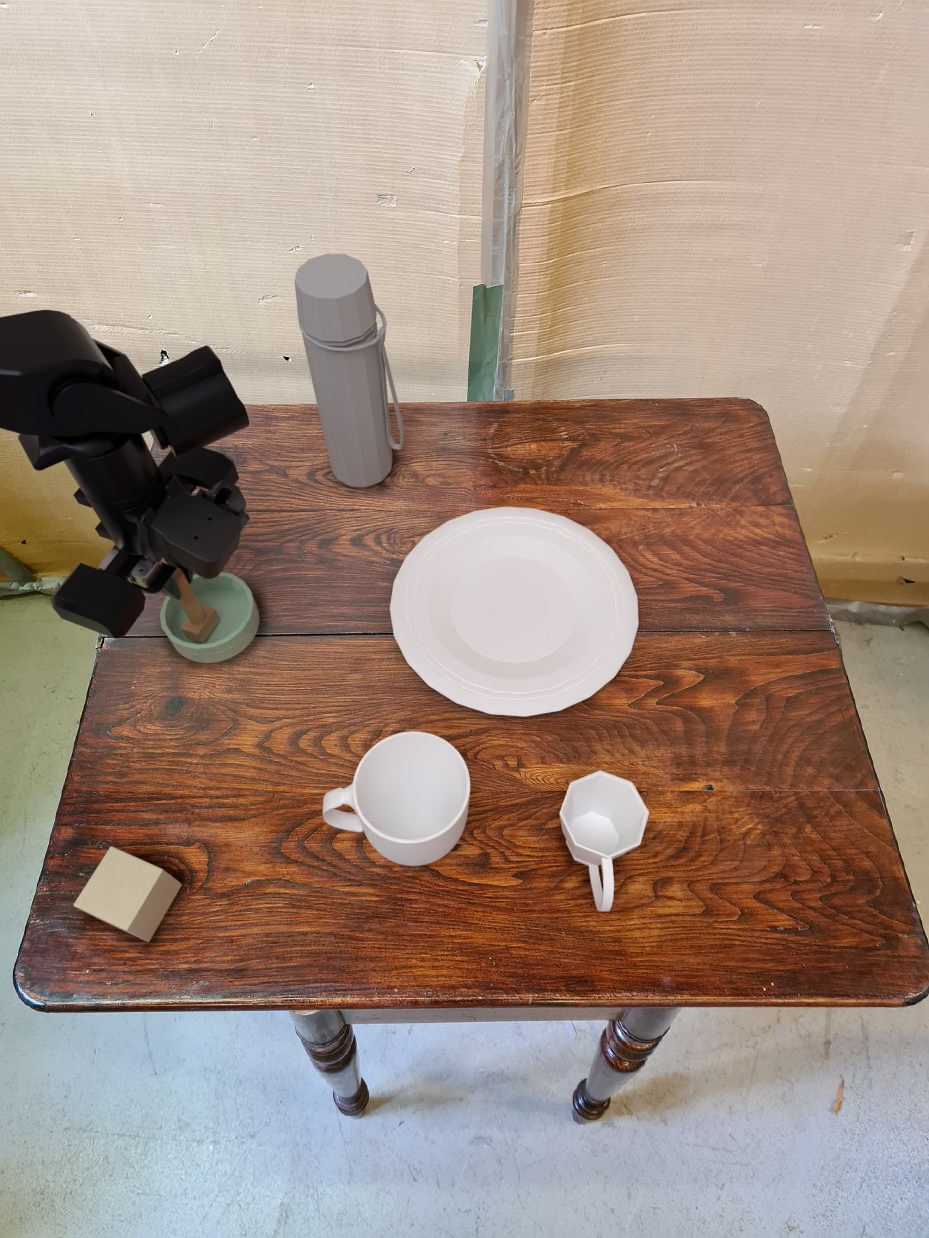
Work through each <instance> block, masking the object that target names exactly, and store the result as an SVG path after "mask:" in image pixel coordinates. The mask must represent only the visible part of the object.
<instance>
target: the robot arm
mask: <svg viewBox="0 0 929 1238" xmlns="http://www.w3.org/2000/svg"><path fill="white" fill-rule="evenodd" d="M249 426H250V418H249V414H248V410H247V409H246V406H245V404H244V403H243V402H242V401H241V399H240V397H239V396H238V395H237V392H236V389H235V388H234V386H233V384H232V382H231V380H230V378H229V377H228V375H227V374H226V371H225V370H224V367H223V363H222V360H221V359H220V358H219V356H218V355H217V354H216V353H215V351H214V350H213V348H211V347H210V345H207V344H206V345H203V346H201V347H199V348H197V349H193V350H192V351H190V352H189V353H187V354H185V355H184V356H183V357H181V358H178V359H176V360H174V361H171V362H168V363H166V364H164V365H161V366H159V367H157V368H154V369H152V370H149V371H147V372H144V373H142V374H141V373H139V371H138V370H137V368H136V367H135V365H134V364H133V363H132V361H131V360H130V358H129V357H128V355H127V354H126V353H124V352H122V351H120V350H117V349H115V348H114V347H112V346H111V345H110V346H109V345H107V344H106V343H103V342H102V341H99V340H97V339H95V338H93V337H92V336H91V334H90V333H89V331H88V330H87V328H86V327H85V326H84V325H83V324H81V323H80V322H79V321H78V320H77V319H75V318H73V317H72V316H71V315H70V314H69V313H66V312H63V311H60V310H55V309H38V310H33V311H26V312H21V313H15V314H9V315H5V316H0V429H2V430H5V431H8V432H11V433H15V434H18V436H17V440H18V442H19V444H20V446H21V447H22V449H23V451H24V454H25V455H26V457H27V459H28V461H29V463H30V464H31V466H32V468H33V469H34V470H35V471H38V472H40V471H44V470H47V469H48V468H50V467H51V468H52V467H53V466H55V465H58V464H60V463H62V462H63V463H64V465H65V466H66V468H67V470H68V471H69V473H70V474H71V476H72V479H74V481H75V483H76V484H77V486H78V489H77V490H76V491H75V492H74V493H73V494H72V496H73V497H74V499H75V500H76V502H77V504H79V505H82V506H85V507H87V508H90V509H92V510H93V511H94V512H95V515H96V516H97V518H98V519H99V523H98V524H97V525H96V526H95V528H94V530H95V532H96V533H97V534H98V536H99V537H100V538H103V539H106V540H109V541H112V542H113V543H114V545H113V546H112V547H111V549H110V550H109V551H108V553H107V554H106V555H105V557H103V559H102V560H101V561H100V563H99V565H98V566H99V568H96V567H94V566H91V565H87V564H85V563H82V562H80V563H79V564H77V565H76V566H75V567H74V568H73V569H72V571H71V572H70V573H69V574H68V575H67V577H65V579H64V581H63V582H62V583H61V584H60V585H59V587H58V588H57V589H56V590H55V591H54V593H53V594H52V595H51V597H50V598H49V601H50V603H51V607H52V609H53V610H54V611H55V612H56V614H57V615H58V616H59V618H61V620H63V621H64V620H65V621H67V622H70V623H72V624H75V625H77V626H80V627H83V628H85V629H88V630H90V631H93V632H96V633H99V634H101V635H104V636H106V637H109V638H112V639H114V640H116V639H119V638H122V637H126V635H127V634H128V633H129V631H130V630H131V628H132V627H133V625H134V624H135V623H136V621H137V620H138V619H139V617H140V616H141V615H142V613H143V612H144V610H145V605H146V599H147V597H146V595H145V594H148V595H157V594H159V593H162V594H164V595H166V597H167V596H169V597H171V598H174V599H177V600H180V598H181V594H180V591H179V588H178V586H177V585H176V583H175V581H174V579H173V578H172V575H173V574H174V572H175V571H176V569H177V568H176V567H178V568H180V569H182V571H183V573H184V575H185V577H186V579H187V580H188V582H189V584H191V582H192V581H193V575H194V574H197V575H199V576H201V577H203V578H205V579H213V578H215V577H217V576H218V575H219V574H220V573H221V572H223V570H224V568H225V566H226V564H227V563H228V562H229V560H230V559H231V558H232V556H233V555H234V553H235V552H236V551H237V550H238V548H239V546H240V540H241V533H242V531H243V530H244V528H245V526H246V525H247V524H248V523H249V521H250V520H251V517H250V515H249V514H248V513H247V512H246V507H247V501H246V499H245V497H244V495H243V493H242V491H241V488H240V487H239V486H238V485H236V484H237V482H238V481H239V480H240V475H239V473H238V470H237V467H236V465H235V462H234V459H233V458H232V457H231V456H230V455H228V454H227V453H226V452H223V451H220V450H217V449H214V448H211V447H208V446H209V445H211V444H213V443H215V442H217V441H219V440H222V439H224V438H225V437H228V436H231V435H233V434H236V433H238V432H239V431H242V430H243V429H245V428H246V429H247V428H248V427H249ZM148 432H149V433H150V435H151V437H152V438H153V440H154V442H155V443H156V445H157V446H158V448H159V449H160V450H161V451H164V450H166V449H168V448H170V449H169V450H168V451H167V452H166V454H165V455H164V456H163V458H162V459H161V460H160V461H159V463H158V464H157V462H156V460H155V458H154V457H153V454H152V452H151V450H150V448H149V446H148V444H147V442H146V440H145V438H144V436H143V434H145V433H148ZM198 487H199V490H198V491H197V492H196V494H193V493H194V492H195V490H196V489H197V488H198ZM206 490H207V491H206ZM162 559H163V560H164V562H162Z"/></svg>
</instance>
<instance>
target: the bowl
mask: <svg viewBox="0 0 929 1238" xmlns="http://www.w3.org/2000/svg"><path fill="white" fill-rule="evenodd" d="M190 586H191V588H192V590H193V592H194V594H195V595H196V597H197V599H198V601H199V603H201V604H203V605H206V606H209V607H212V608H214V609H215V610H216V612H217V614H218V616H219V618H220V620H219V622H218V623H217V625H216V626H215V628H214V629H213V631H212V632H211V634H210V635H209V637H208V638H207V640H206V641H205V643H204V644H202V643H199V642H196V641H194V640H191V639H188V638H186V636H185V634H184V633H183V631H182V629H181V626H182V625H183V624H184V622H185V621H186V619H187V618H188V617H187V615H186V614H185V612H184V610H183V608H182V607H181V605H180V603H179V601H178V600H177V599H174V598H171V597H169V596H167V595H166V596H165V598H164V599H163V602H162V605H161V607H160V608H161V609H160V611H159V619H160V625H161V629H162V630H163V632H164V633H165V635H166V637H167V638H168V640H169V641H170V643H171V644H172V646H173V647H174V649H175V650H176V651H177V653H179V654H180V655H181V656H183V658H185V659H187V660H190V661H193V662H196V663H202V664H213V663H214V664H215V663H219V662H223V661H226V660H229V659H231V658H233V657H235V656H237V655H238V654H240V653H241V652H243V651H244V650H245V649H246V648H247V647H248V646H249V645H250V644H251V643H252V641H253V640H254V639H255V638H256V637H255V636H256V635H257V633H258V630H259V627H260V611H259V608H258V605H257V601H256V600H255V596H254V595H253V592H252V590H251V588H250V587H249V586H248V585H247V583H246V582H245V580H243V579H242V578H241V577H238V576H237V575H235V574H233V573H231V572H225V571H221V573H220V574H219V575H218V576H217V577H215V578H213V579H205V578H203V577H201V576H199V575H197V574H196V573H194V574H193V581H192V582H191V584H190Z"/></svg>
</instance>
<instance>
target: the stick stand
mask: <svg viewBox="0 0 929 1238" xmlns="http://www.w3.org/2000/svg"><path fill="white" fill-rule="evenodd" d="M182 886H183V884H182V883H181V882H180V881H179V880H178V879H176V878H175V877H174V876H172V875H171V874H170V873H168V871H166V870H165V869H163V868H161V867H159V866H157V865H154V864H152V863H150V862H148V861H146V860H143V859H142V858H139V857H138V856H137V857H136V856H135V855H132V854H130V853H128V852H125V851H123V850H121V849H119V848H116V847H115V846H113V845H111V846H110V847H109V848H108V850H107V851H106V853H105V855H104V856H103V858H102V859H101V861H100V862H99V864H98V865H97V867H96V869H95V870H94V871H93V873H92V875H91V876H90V878H89V879H88V881H87V883H86V884H85V885H84V887H83V889H82V890H81V892H80V893H79V895H78V897H77V898H76V900H75V901H74V903H73V907H75V908H76V909H78V910H80V911H82V912H84V913H86V914H88V915H90V916H92V917H94V918H96V919H97V920H100V921H102V922H104V923H107V924H108V925H110V926H112V927H114V928H117V929H119V930H121V931H123V932H125V933H127V934H129V935H132V936H134V937H137V938H138V939H140V940H142V941H145V942H147V943H150V941H151V940H152V938H153V936H154V934H155V933H156V931H157V929H158V927H160V924H161V922H162V921H163V919H164V917H165V915H166V914H167V912H168V910H169V908H170V907H171V905H172V903H173V902H174V899H175V898H176V897H177V895H178V893H179V891H180V889H181V888H182Z"/></svg>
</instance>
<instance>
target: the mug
mask: <svg viewBox="0 0 929 1238" xmlns="http://www.w3.org/2000/svg"><path fill="white" fill-rule="evenodd" d="M470 795H471V776H470V773H469V769H468V766H467V764H466V762H465V759H464V758H463V756H462V755H461V754H460V752H459V751H458V750H457V748H455V747H454V746H453V745H452V744H451V743H450V742H448V741H447V740H445V739H444V738H442V737H440V736H438V735H436V734H433V733H429V732H424V731H416V730H415V731H412V730H411V731H404V732H403V731H402V732H399V733H394V734H391V735H389V736H387V737H385V738H383V739H381V740H380V741H378V742H377V743H375V744H374V745H373V746H372V747H370V748H369V750H368V751H367V752H366V753H365V754H364V756H363V757H362V758H361V760H360V762H359V763H358V765H357V767H356V769H355V772H354V775H353V781H352V783H350V785H348V786H347V787H341V786H340V787H337V788H334V789H331V790H329V791H327V792H326V793H325V794H324V796H323V800H322V820H323V821H324V822H325V823H326V824H328V825H330V826H331V827H333V828H336V829H339V830H344V831H348V832H355V833H364V835H365V837H366V839H367V840H368V842H369V844H370V845H371V846H372V847H373V849H374V850H375V851H377V853H378V854H379V855H381V856H382V857H383V858H385V859H387V860H389V862H393V863H395V864H398V865H403V866H407V867H419V866H425V865H428V864H432V863H434V862H437V861H438V860H440V859H442V858H443V857H445V856H446V855H447V854H449V853H450V852H451V850H453V848H454V847H455V846H456V845H457V844H458V842H459V841H460V839H461V837H462V835H463V833H464V830H465V828H466V823H467V820H468V814H469V807H470ZM342 805H347V806H348V807H351V809H353V811H354V812H355V813H354V812H353V813H351V812H348V811H343V810H339V809H336V808H339V807H341V806H342Z"/></svg>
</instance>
